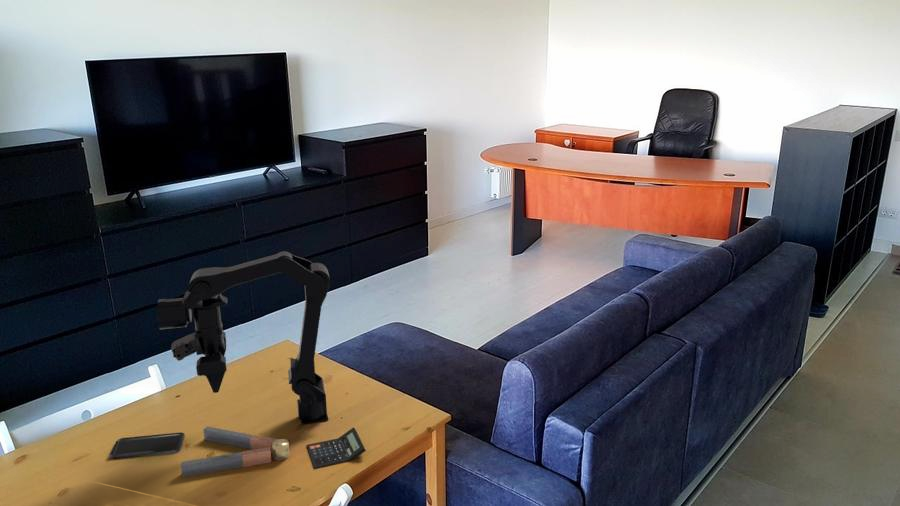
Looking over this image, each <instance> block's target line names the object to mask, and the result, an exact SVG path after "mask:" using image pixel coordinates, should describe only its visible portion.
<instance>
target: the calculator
mask: <svg viewBox="0 0 900 506" xmlns="http://www.w3.org/2000/svg"><path fill="white" fill-rule="evenodd" d="M306 448H307V451H308V454H309V456H310V457H309V458H310V459H311V462H312V466H313V469H320V468H324V467H329V466H333V465H339V464H343V463H347V462H352V461H353V460H355V459H357V458H358V457H359V456H361V455H362V454H364V452H365V453H366V451H367V450H366V448H365V446H364V444H363V441H362V440H361V438H360V436H359V434H358V432H357V430H356V428H355V427H354V426H353V427H352V428H350V429H349V430H348V431H346V432H345V433H344V434H342V435H341V436H339V437H337V438H334V439H329V440H323V441H318V442H314V443H309V444H306Z"/></svg>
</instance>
